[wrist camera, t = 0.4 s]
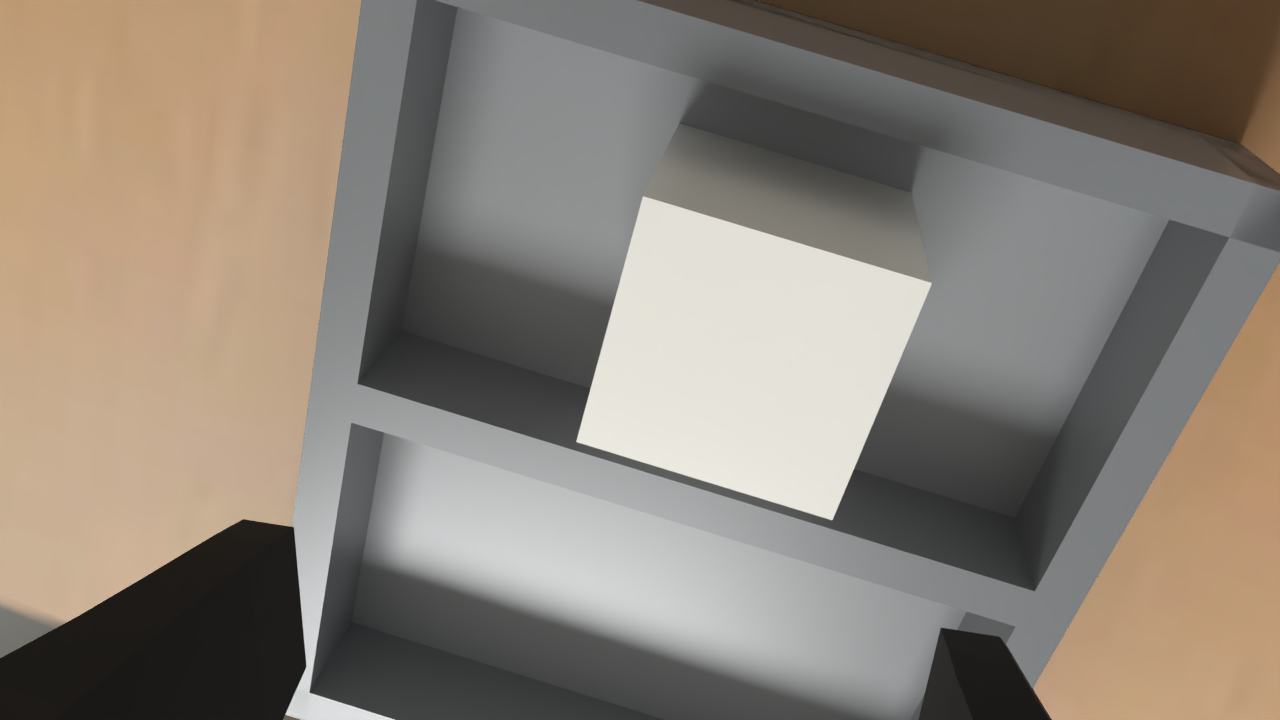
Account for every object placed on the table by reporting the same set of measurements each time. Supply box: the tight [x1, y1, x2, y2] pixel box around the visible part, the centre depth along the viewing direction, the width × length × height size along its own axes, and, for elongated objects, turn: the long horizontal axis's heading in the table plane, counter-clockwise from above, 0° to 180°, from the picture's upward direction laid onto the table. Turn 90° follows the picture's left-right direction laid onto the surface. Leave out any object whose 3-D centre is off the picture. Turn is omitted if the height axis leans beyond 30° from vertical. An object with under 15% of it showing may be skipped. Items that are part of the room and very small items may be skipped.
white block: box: [576, 123, 932, 520], centre depth 17 cm, size 4×4×4 cm
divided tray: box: [286, 0, 1280, 720], centre depth 20 cm, size 14×16×3 cm
